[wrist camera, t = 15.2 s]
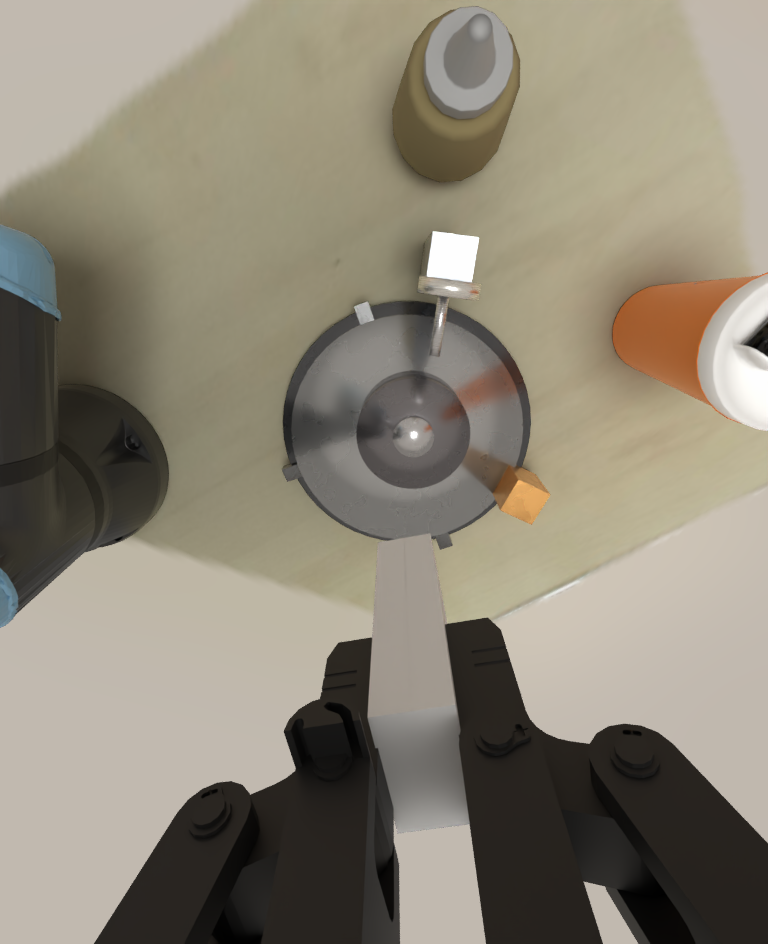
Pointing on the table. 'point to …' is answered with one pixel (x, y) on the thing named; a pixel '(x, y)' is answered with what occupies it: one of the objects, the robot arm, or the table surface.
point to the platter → (338, 409)
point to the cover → (412, 430)
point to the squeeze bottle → (456, 94)
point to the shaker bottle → (703, 342)
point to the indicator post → (447, 276)
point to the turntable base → (401, 309)
